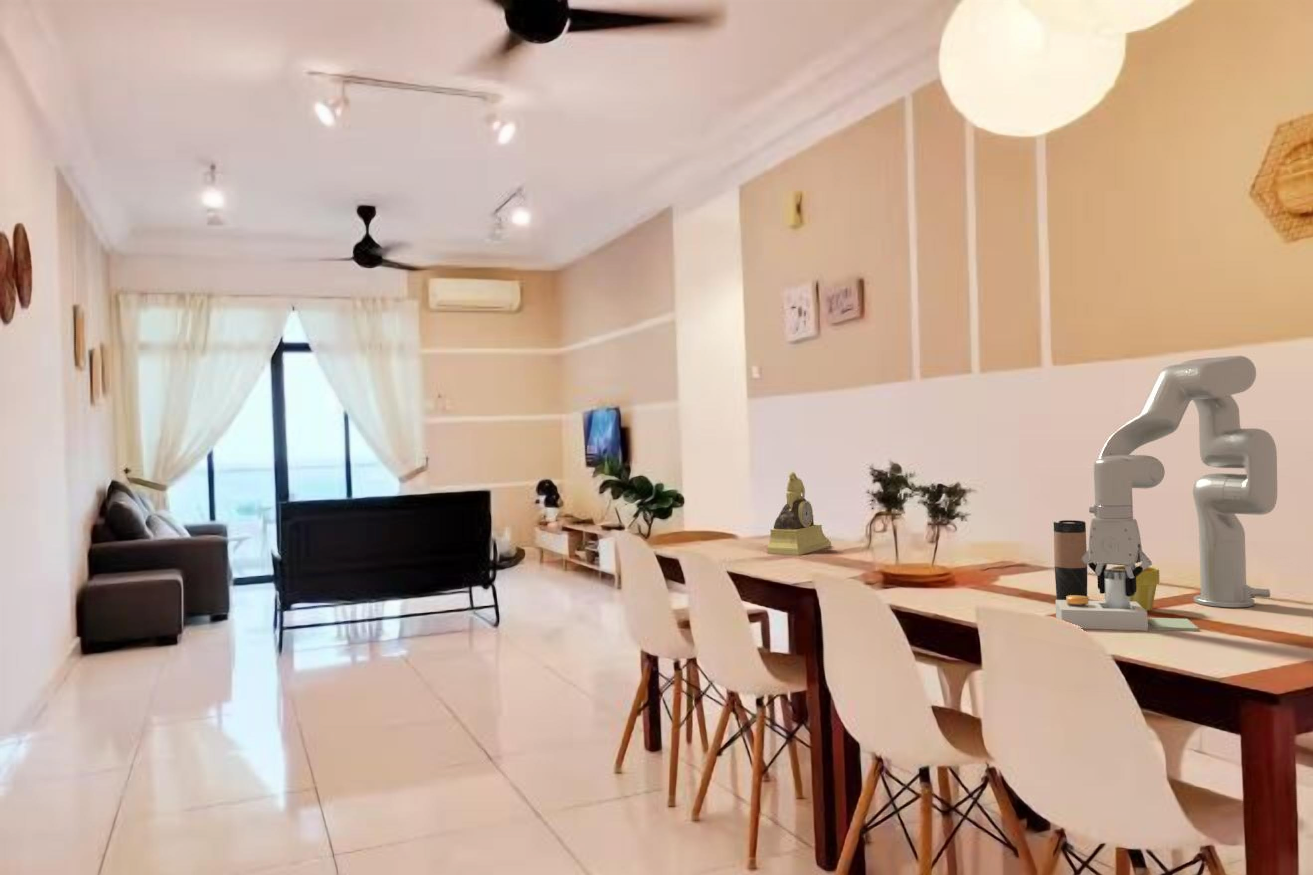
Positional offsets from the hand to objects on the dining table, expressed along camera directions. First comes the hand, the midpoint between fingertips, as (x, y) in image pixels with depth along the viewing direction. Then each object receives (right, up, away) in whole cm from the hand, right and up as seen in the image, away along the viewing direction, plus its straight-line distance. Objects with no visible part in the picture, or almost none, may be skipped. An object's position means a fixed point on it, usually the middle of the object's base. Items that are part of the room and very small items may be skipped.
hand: (1117, 593), depth 204 cm
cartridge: (0, -5, 0) cm, 5 cm away
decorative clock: (-49, -8, +143) cm, 151 cm away
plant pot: (+12, -7, +15) cm, 21 cm away
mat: (+10, -7, -4) cm, 13 cm away
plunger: (-8, -6, +2) cm, 10 cm away
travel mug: (+3, -7, +29) cm, 30 cm away
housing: (-3, -7, +1) cm, 8 cm away
